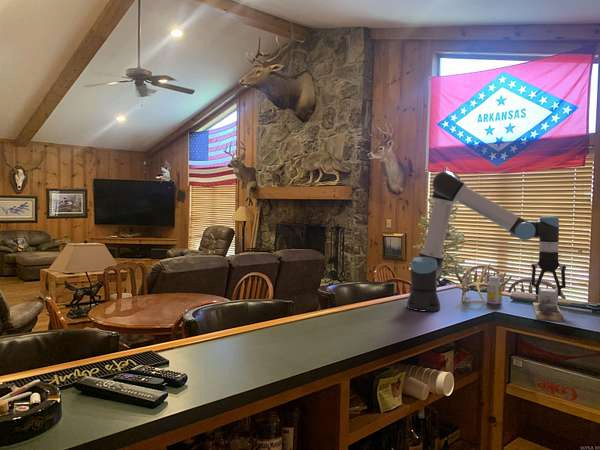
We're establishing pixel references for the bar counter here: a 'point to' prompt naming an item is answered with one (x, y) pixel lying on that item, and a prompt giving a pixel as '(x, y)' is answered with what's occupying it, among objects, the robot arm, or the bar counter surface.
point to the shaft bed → (547, 317)
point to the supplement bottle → (494, 290)
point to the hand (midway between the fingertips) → (547, 302)
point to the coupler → (548, 296)
